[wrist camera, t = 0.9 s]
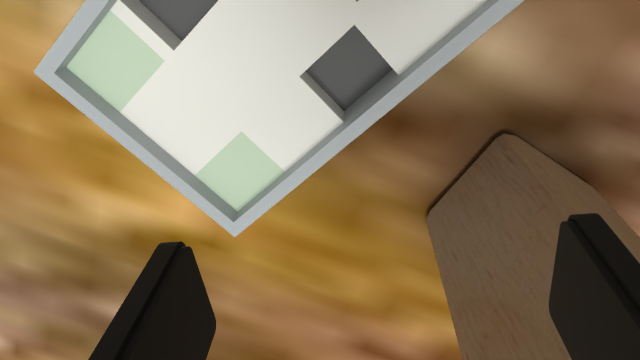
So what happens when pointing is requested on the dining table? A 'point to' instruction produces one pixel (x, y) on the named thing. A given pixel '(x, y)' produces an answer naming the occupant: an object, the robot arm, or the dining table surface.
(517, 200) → the block
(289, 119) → the trap box
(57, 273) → the dining table surface
